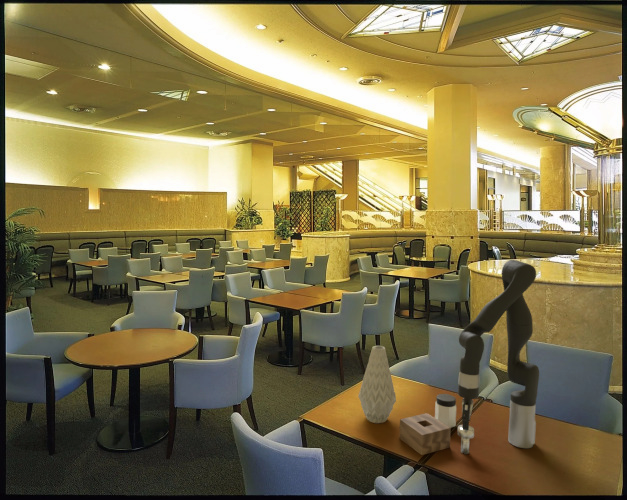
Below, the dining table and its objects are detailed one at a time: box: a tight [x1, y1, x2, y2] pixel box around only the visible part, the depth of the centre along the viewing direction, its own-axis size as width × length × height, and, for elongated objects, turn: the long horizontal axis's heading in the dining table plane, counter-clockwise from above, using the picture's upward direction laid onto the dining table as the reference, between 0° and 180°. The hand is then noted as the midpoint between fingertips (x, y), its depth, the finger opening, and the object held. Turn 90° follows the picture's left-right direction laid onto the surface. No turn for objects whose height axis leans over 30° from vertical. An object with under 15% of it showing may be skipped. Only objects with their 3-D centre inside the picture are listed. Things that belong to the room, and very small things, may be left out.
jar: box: [434, 393, 457, 429], centre depth 194 cm, size 9×8×12 cm
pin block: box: [399, 412, 452, 456], centre depth 178 cm, size 14×14×8 cm
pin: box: [457, 424, 475, 455], centre depth 171 cm, size 6×6×10 cm
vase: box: [358, 345, 397, 424], centre depth 197 cm, size 17×17×33 cm
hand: (466, 424), depth 170 cm, fingers open, 8 cm apart
